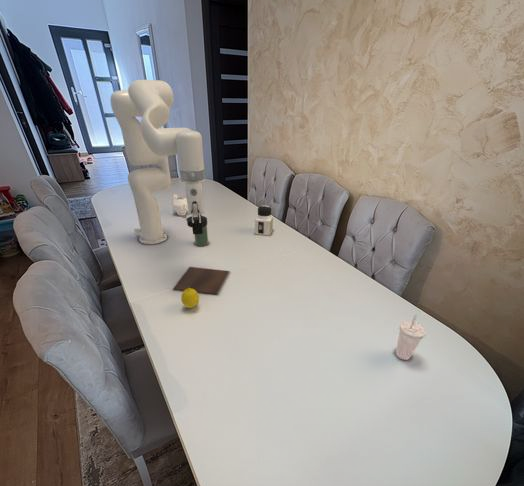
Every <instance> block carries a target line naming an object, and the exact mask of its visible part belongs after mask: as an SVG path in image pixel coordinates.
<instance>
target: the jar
mask: <svg viewBox="0 0 524 486" xmlns="http://www.w3.org/2000/svg"><path fill="white" fill-rule="evenodd" d="M202 229H203V234H193V237H194V244H195V246H197V247H206V246H208V245H209V234H208V233H209V232H208V224H207V225H206V226H205V227H202Z"/></svg>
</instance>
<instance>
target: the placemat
mask: <svg viewBox="0 0 524 486" xmlns="http://www.w3.org/2000/svg"><path fill="white" fill-rule="evenodd" d="M229 273H230V272H229V270H223V269H222V270H221V269H213V268H202V267H195V266H189V267H188V269H187V270H186V272H185V273H184V274H183V275H182V277H181V278H180V279H179V280H178V282H177V283H176V285H175V286H174V287H173V290H174V291H184V290H186V289H187V288H191V289H194V290H196V292H197V293H198V294H207V295H215V296H217V295H218V294H219V292H220V291H221V288H222V286H223V285H224V283H225V281H226V278H227V276H228V274H229Z"/></svg>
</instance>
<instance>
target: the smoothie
mask: <svg viewBox="0 0 524 486" xmlns="http://www.w3.org/2000/svg"><path fill="white" fill-rule="evenodd" d="M417 317H418V315H417V314H414V315H413V317H412V320H405V321H402V322H401V323H400V324H399V326H398V330H399V331H398V332H399V333H398V339H397V344H396V350H395V356H397V358H399V359H400V360H403V361H407V360H410V358H411V357H412V355H413V354H414V352H415V351H416V349H417V347H418V345H419V344H420V342H421V340H422V339H424V338H426V333H427V331H426V328H424V326H423V325H421V324H420V323H419V322H417V321H416V320H417Z"/></svg>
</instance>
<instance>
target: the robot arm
mask: <svg viewBox="0 0 524 486" xmlns="http://www.w3.org/2000/svg"><path fill="white" fill-rule="evenodd" d="M174 101H175V97H174V92H173V89H172V87H171V85H169V83H167V82H166V81H164V80H160V79H159V80H158V79H136V80H134V81H131V83H130V84H129V86H128V88H127V89H120V90H116V91H113V92H112V93H111V95H110V106H111V107H110V108H111V111H112V113H113V115H114V118H115V119H116V121H117V123H118V125H119V128H120V130H121V135H122V139H123V144H124V150H125V153H126V157H127V160H128V162H129V164H130V165H131V166H135V167H142V166H152V165H155V167H145V168H137V169H134V170H131V171H130V172H129V173H128V175H127V181H128V182H127V183H128V185H129V188H130V190H131V192H132V196H133V200H134V203H135V208H136V214H137V217H138V223H139V228H134V229H133V230H134V231H133V232H134V233H133V234H134V235H138V239H139V242H140V243H141V244H144V245H157V244H160V243H163V242H165V241H166V240H167V239H168V235H167V234H166V233H165V232H164V231H163V224H162V218H161V213H160V206H159V201H158V200H157V198H156V197H155V196H154V195H153V194H152V192H156V191H157V192H159V191H162V190H163V191H164V190H167V189H169V188H170V187H171V184H172V180H171V179H172V178H171V171H170V165H169V156H177V162H178V169H179V179H180V182H181V183H184V187H185V196H186V199H187V203H188V213H189V215H191V216H192V227H191V229H192V235H194V234H203V229H202V222H201V216H203V215H204V214H206V212H205V198H204V186H203V183H204V182H205V181H206V175H205V173H206V172H205V162H204V161H205V160H204V150H203V149H204V147H203V137H202V135H201V133H200V132H199V131H196V130H192V129H190V128H188V127H164V126H165V125H166V124H167V123H168V122H169V120H170V115H171V112H170V110H171V108H172V107H173V105H174V103H175V102H174ZM138 118H140V119H141V120H139V119H138ZM163 127H164V128H163ZM198 216H199V217H198Z"/></svg>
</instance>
